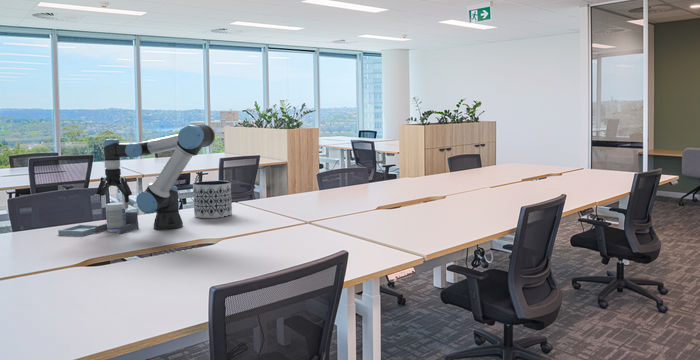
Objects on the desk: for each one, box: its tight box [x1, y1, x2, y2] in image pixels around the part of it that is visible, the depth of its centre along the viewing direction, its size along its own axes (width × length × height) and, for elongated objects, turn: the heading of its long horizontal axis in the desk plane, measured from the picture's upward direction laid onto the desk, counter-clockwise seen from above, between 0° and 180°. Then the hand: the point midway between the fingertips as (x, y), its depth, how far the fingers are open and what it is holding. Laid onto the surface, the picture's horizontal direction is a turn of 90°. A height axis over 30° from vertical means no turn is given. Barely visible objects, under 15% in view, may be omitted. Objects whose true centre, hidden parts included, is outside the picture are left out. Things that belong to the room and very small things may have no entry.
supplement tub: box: [105, 202, 126, 233], centre depth 284 cm, size 10×10×15 cm
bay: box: [95, 211, 139, 235], centre depth 284 cm, size 14×15×9 cm
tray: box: [57, 224, 99, 237], centre depth 281 cm, size 15×15×2 cm
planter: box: [192, 180, 233, 219], centre depth 325 cm, size 22×22×20 cm
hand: (114, 208), depth 283 cm, fingers open, 13 cm apart
